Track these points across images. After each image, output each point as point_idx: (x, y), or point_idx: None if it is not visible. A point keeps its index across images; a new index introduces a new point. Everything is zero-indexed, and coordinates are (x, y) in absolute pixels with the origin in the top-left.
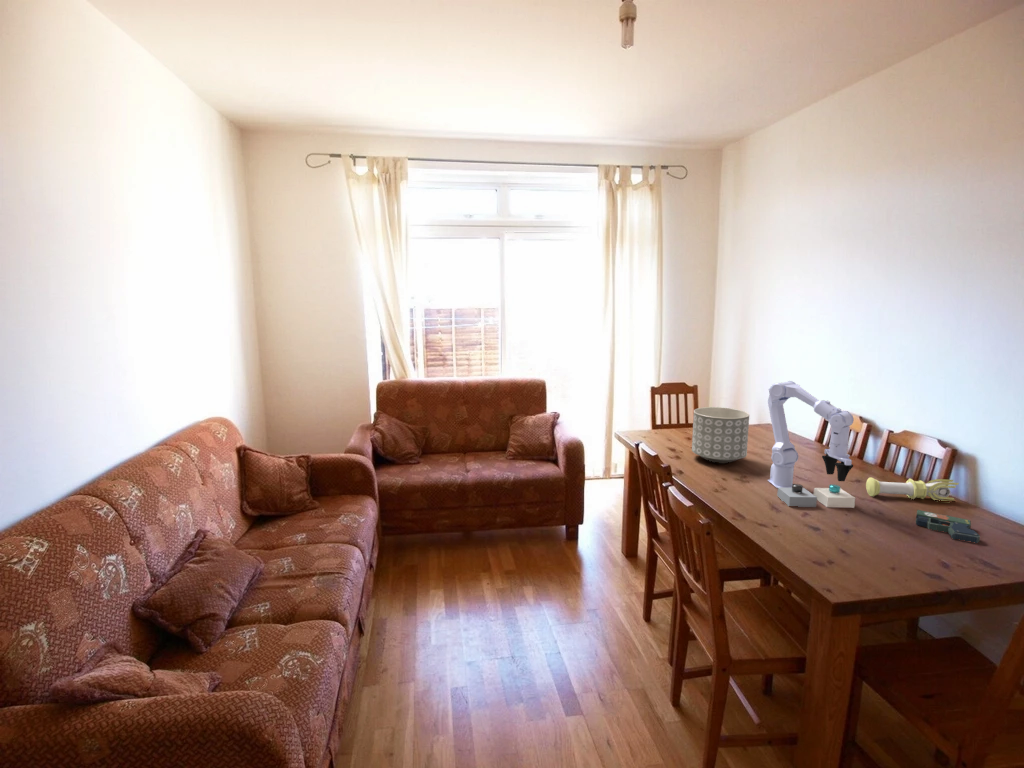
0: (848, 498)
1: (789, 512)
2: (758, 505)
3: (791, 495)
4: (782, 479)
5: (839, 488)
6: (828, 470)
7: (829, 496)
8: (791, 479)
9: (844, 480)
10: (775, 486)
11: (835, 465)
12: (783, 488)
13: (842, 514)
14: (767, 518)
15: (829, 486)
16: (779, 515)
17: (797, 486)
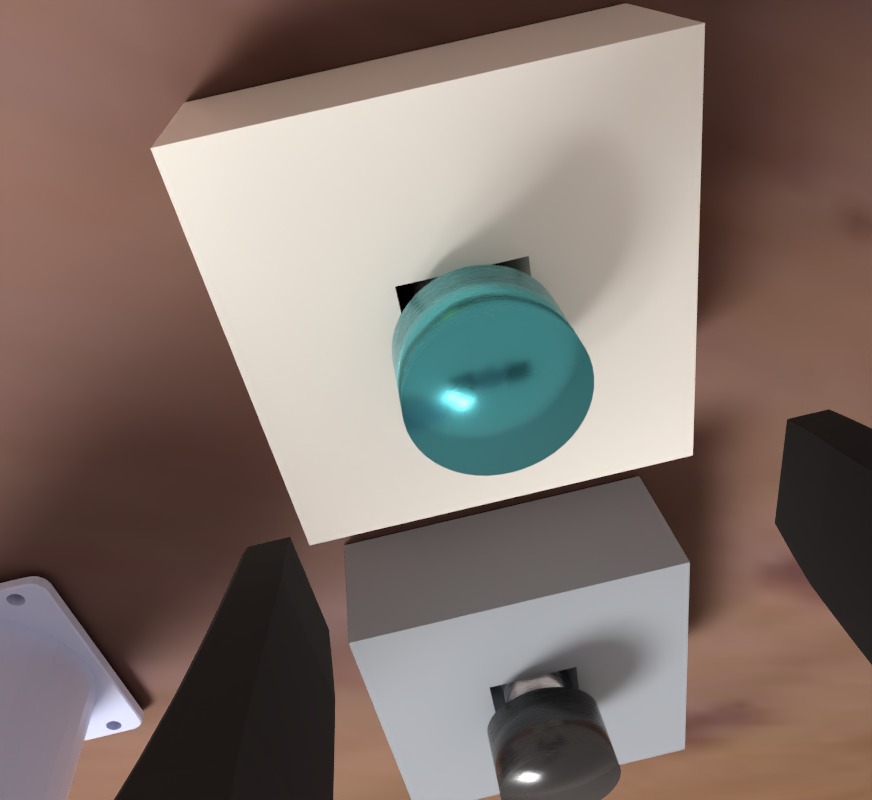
0: (693, 157)
1: (766, 661)
2: (629, 796)
3: (644, 739)
4: (69, 785)
5: (568, 325)
6: (328, 721)
7: (657, 431)
8: (5, 720)
9: (851, 425)
10: (103, 731)
11: (239, 771)
12: (438, 782)
13: (856, 265)
14: (858, 757)
15: (488, 463)
16: (817, 710)
17: (594, 784)
